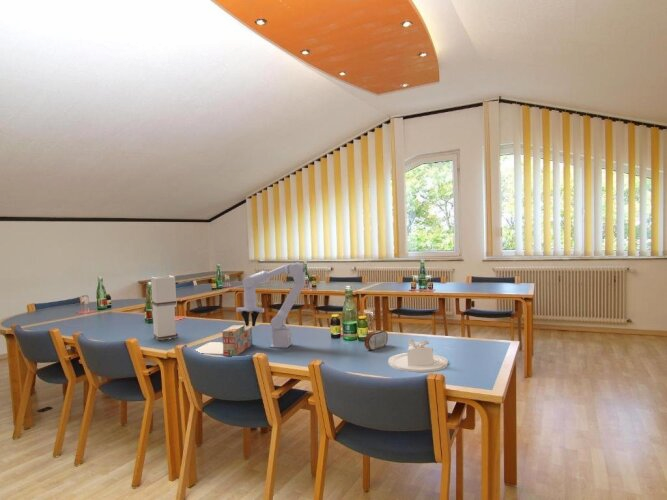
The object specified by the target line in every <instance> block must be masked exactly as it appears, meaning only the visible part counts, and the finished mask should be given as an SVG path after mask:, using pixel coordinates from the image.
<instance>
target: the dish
mask: <svg viewBox="0 0 667 500" xmlns="http://www.w3.org/2000/svg"><path fill="white" fill-rule="evenodd" d="M407 343H408V348H407V352H403V353H398V354H394V355H391V356H390V357H389V358H388V365H389V366H390V367H391V368H393V369H396V370H399V371H404V372H411V373H413V372H414V373H431V372H436V371H440V370H443V369H444V368H447V366H448V365H449V361H448V359H447V358H445V357H443V356H442V355H438V354H435V353H434V348H433V347H430V346H428V345H429V344H430V341H429V340H422V341H414V339H410V338H409V339H408V340H407Z"/></svg>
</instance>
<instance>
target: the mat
mask: <svg viewBox="0 0 667 500" xmlns="http://www.w3.org/2000/svg"><path fill="white" fill-rule="evenodd" d="M194 350H196V351H198V352H200V353H204V355H223V341H222V342H220V341H217V342H215V341H214V342H213V341H209V342H207V343H205V344H203V345H200V346H199V347H197V348H196V349H194Z"/></svg>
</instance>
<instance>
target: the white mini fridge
mask: <svg viewBox="0 0 667 500" xmlns="http://www.w3.org/2000/svg"><path fill="white" fill-rule="evenodd" d="M150 281H151V282H150V284H151V287H150V288H151V302H152V305H151V306H152V324H153V325H152V327H153V337H155V338H156V339H155V338H154V339H155V340H157V339H158V340H162V341H164V340H163V339H168V340H170V339H169V338H174V339H178V338H179V334H178V333H176V332H177V330H176V311H175V309H176V308H177V294H176V293H177V291H176V276H173V275H168V276H166V277H154V276H150ZM177 337H178V338H177ZM158 340H157V341H158Z"/></svg>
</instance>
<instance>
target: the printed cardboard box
mask: <svg viewBox="0 0 667 500" xmlns="http://www.w3.org/2000/svg"><path fill="white" fill-rule="evenodd" d="M252 327H253V326H251V327H250V326H249V327H248V326H245V325H243V324H241V325H238V324H237V325H236V324H232V325H231V326H229V327H228V328H226V329H224V330H222V342H223V354H222V355H223V357H236V356H238V355H239V354H241V353H242V352H244V351H245V350H246V349H248V348H249V347H251V346H253V330H252ZM235 355H236V356H235Z"/></svg>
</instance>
